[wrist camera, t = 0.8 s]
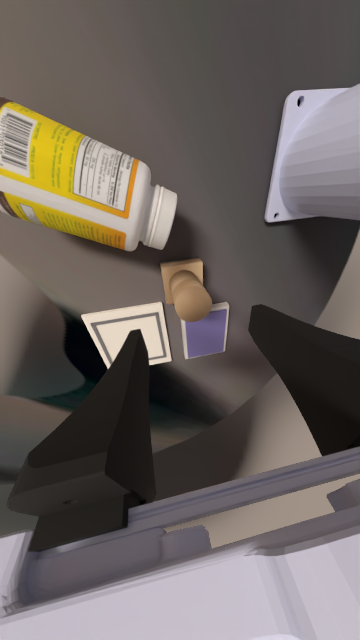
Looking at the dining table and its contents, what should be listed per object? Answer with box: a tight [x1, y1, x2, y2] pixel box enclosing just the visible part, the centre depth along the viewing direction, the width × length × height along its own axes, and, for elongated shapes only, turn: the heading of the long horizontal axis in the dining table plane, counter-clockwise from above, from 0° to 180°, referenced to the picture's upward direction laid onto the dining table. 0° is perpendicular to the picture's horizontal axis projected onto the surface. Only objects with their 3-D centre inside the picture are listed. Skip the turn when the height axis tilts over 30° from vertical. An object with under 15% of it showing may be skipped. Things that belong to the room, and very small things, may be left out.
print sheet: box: [81, 302, 172, 369], centre depth 23 cm, size 9×10×1 cm
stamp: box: [160, 257, 212, 322], centre depth 17 cm, size 4×4×6 cm
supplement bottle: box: [0, 96, 177, 251], centre depth 12 cm, size 6×6×10 cm
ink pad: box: [181, 302, 229, 359], centre depth 23 cm, size 6×8×1 cm
